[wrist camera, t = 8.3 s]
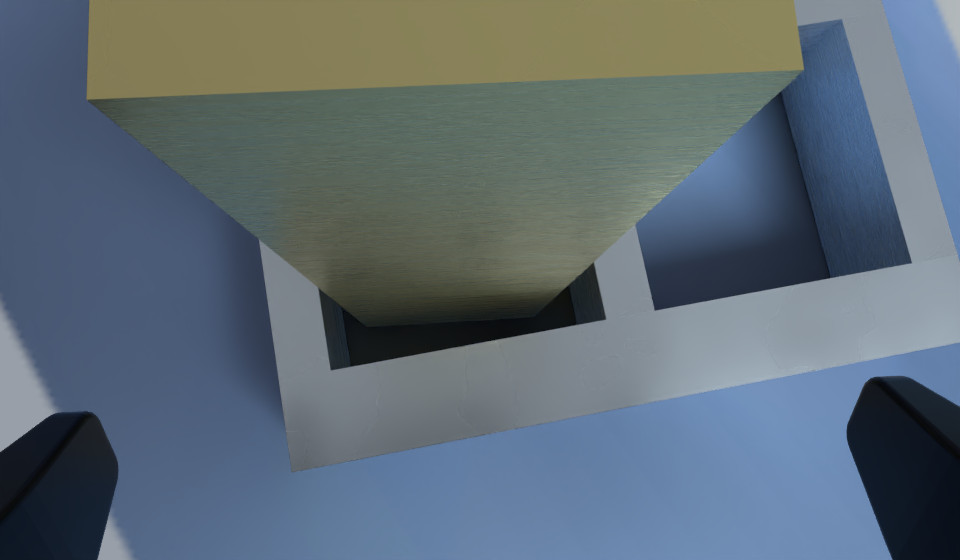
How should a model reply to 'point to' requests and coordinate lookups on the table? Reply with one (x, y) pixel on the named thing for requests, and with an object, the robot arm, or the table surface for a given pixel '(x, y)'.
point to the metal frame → (678, 330)
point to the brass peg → (437, 129)
